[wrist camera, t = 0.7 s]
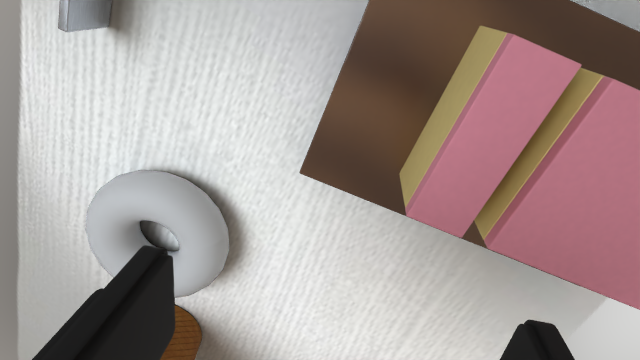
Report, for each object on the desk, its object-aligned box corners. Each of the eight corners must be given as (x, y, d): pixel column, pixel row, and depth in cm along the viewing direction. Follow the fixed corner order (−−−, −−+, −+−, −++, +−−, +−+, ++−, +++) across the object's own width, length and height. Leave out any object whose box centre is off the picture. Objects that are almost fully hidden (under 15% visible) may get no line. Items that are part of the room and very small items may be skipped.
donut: (79, 189, 28) (155, 291, 31) (43, 212, 25) (131, 323, 28) (189, 140, 25) (260, 257, 29) (163, 159, 22) (246, 288, 25)
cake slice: (479, 25, 19) (514, 34, 15) (533, 48, 19) (582, 64, 15) (398, 173, 23) (406, 216, 19) (443, 192, 23) (461, 238, 19)
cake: (557, 59, 19) (614, 78, 15) (726, 134, 20) (829, 174, 16) (464, 200, 23) (486, 249, 19) (607, 259, 24) (661, 319, 20)
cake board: (398, -73, 19) (400, -77, 18) (746, 85, 20) (768, 90, 19) (302, 165, 25) (299, 173, 24) (572, 274, 26) (581, 287, 25)
